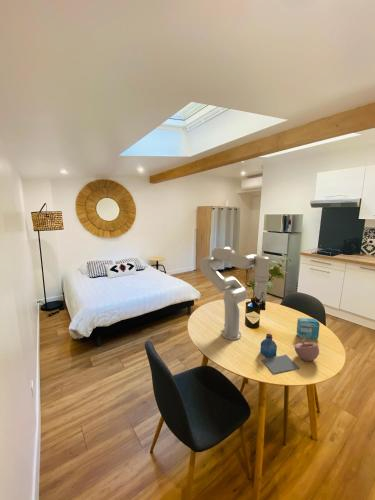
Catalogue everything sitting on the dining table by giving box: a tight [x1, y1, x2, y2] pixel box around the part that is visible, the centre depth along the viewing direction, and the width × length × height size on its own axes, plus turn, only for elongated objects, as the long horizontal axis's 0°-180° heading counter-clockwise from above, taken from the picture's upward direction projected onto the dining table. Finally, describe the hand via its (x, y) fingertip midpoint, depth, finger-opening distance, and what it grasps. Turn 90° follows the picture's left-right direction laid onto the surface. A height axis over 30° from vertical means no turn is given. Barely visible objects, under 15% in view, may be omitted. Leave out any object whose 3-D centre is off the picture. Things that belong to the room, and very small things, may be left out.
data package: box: [296, 317, 321, 340], centre depth 147 cm, size 12×4×12 cm, turn 81°
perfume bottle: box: [259, 333, 278, 359], centre depth 130 cm, size 6×6×12 cm
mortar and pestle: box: [294, 338, 320, 362], centre depth 125 cm, size 12×12×12 cm
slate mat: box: [260, 354, 301, 375], centre depth 122 cm, size 11×16×1 cm
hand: (260, 306), depth 130 cm, fingers open, 9 cm apart
